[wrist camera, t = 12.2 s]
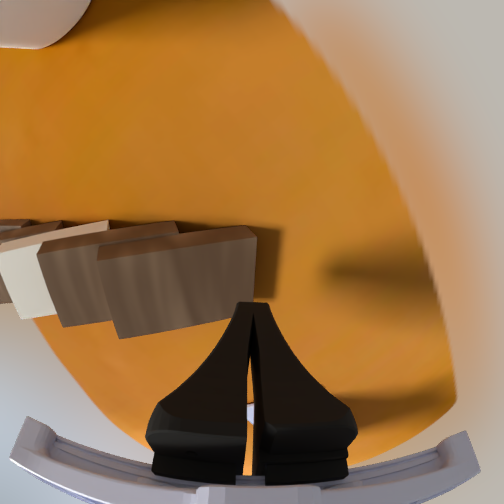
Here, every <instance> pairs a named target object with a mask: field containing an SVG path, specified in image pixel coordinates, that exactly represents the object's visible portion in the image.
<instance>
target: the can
mask: <svg viewBox="0 0 504 504" xmlns="http://www.w3.org/2000/svg"><path fill="white" fill-rule="evenodd" d="M90 2H91V0H0V47H6V48H25V49H40V48H44V47H47V46H49V45H51V44H53V43H54V42H56V41H58V40H59V39H60V38H62V37H63V36H64V35H65V34H66V33H68V32H69V31H70V30H71V29H72V28H73V27H74V26H75V25H76V23H77V22H78V21H79V20H80V19H81V17H82V16H83V14H84V13H85V11H86V10H87V8H88V6H89V4H90Z"/></svg>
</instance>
